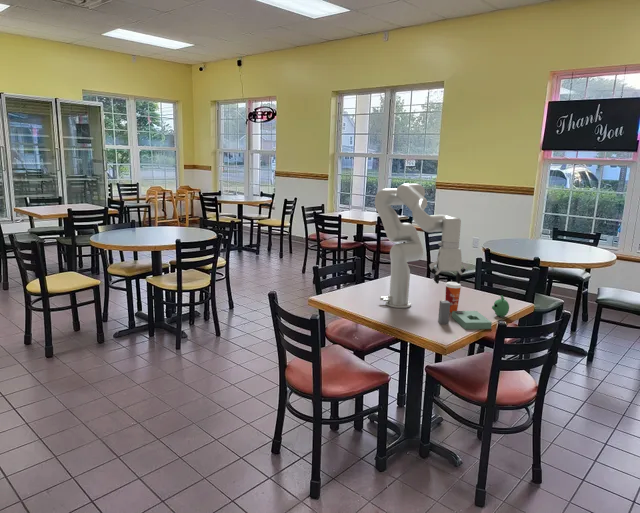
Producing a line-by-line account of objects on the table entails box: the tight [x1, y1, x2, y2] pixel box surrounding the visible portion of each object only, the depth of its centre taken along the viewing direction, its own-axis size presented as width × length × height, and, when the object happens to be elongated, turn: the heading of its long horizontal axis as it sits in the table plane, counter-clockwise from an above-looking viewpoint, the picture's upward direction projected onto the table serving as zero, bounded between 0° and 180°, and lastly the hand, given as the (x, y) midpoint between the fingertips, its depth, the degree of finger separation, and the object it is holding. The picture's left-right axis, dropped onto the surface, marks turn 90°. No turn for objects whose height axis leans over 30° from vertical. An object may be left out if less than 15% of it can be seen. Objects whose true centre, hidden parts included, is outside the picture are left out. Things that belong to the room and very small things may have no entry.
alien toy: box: [491, 295, 510, 318], centre depth 227 cm, size 7×8×10 cm
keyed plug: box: [437, 299, 450, 325], centre depth 216 cm, size 4×5×10 cm
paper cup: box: [444, 281, 462, 314], centre depth 232 cm, size 8×8×14 cm
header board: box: [451, 310, 493, 330], centre depth 217 cm, size 12×16×3 cm
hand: (447, 282), depth 212 cm, fingers open, 9 cm apart
